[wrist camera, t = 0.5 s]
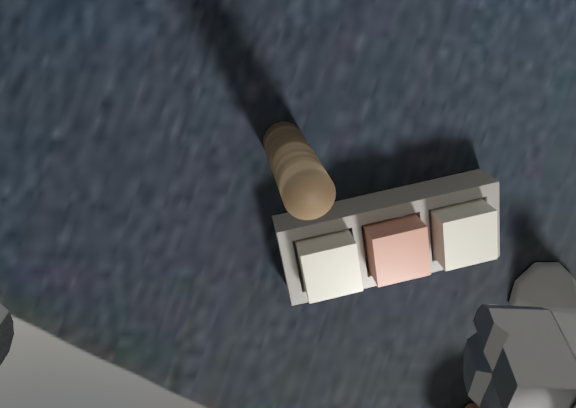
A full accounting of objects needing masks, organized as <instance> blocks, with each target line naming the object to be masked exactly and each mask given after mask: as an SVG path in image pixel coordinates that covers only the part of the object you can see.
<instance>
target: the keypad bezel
mask: <svg viewBox="0 0 576 408" xmlns="http://www.w3.org/2000/svg"><path fill="white" fill-rule="evenodd" d="M481 198H482V199H483V200H484V201H486V202H487V203H488V204H490V205H491V206H492V207H493V208H495V209H496V210H497V242H498V257H499V256H500V234H499V181H497V180H496V179H495V178H493V177H492V176H490V175H489V174H487V173H486V172H484V171H483V170H481V169H476V170H472V171H467V172H463V173H458V174H454V175H450V176H445V177H441V178H436V179H432V180H428V181H423V182H419V183H415V184H410V185H406V186H401V187H397V188H393V189H388V190H384V191H379V192H375V193H371V194H366V195H362V196H357V197H353V198H349V199H344V200H340V201H335V202H334V204H333V206H332V207H331V209H330V210H329V211H328V212H327V213H326V214H325V215H323V216H321V217H319V218H317V219H314V220H301V219H298V218H295V217H294V216H292V215H291V214H290V213H289V212H287V213H283V214H278V215H274V216H272V219H273V224H274V228H275V233H276V238H277V242H278V247H279V252H280V256H281V261H282V266H283V270H284V275H285V279H286V284H287V288H288V292H289V296H290V300H291V303H292V306H294V305H298V304H302V303H306V302H309V300H308V297H307V294H306V291H305V288H304V284H303V278H302V273H301V268H300V263H299V258H298V253H297V248H296V243H295V241H299V240H304V239H308V238H312V237H317V236H321V235H325V234H330V233H334V232H338V231H343V230H347V229H349V231H350V233H351V235H352V236H353V238H354V240H355V242H356V243H357V250H358V257H359V264H360V271H361V278H362V286H363V289H365V288H369V287H373V286H377V284H376V283H375V281H374V279H373V277H372V276H371V274H370V272H369V266H368V258H367V251H366V243H365V236H364V228H363V226H364V225H369V224H373V223H377V222H382V221H386V220H390V219H395V218H399V217H403V216H408V215H412V214H416V215H417V216H418V217H419V218H420V219H421V220H422V221H423V222H424V224H425V225H426V226H427V227H428V241H429V254H430V268H431V273H432V272H436V271H440V270H444V269H443V267H442V266H441V265H440V264H439V263H438V261H437V260H436V259H435V258H434V257H433V244H432V230H431V216H430V210H433V209H438V208H442V207H446V206H451V205H455V204H459V203H464V202H468V201H472V200H477V199H481Z"/></svg>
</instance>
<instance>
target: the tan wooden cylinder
mask: <svg viewBox="0 0 576 408" xmlns="http://www.w3.org/2000/svg"><path fill="white" fill-rule="evenodd" d="M263 145H264V149H265V152H266V155H267V157H268V160H269V163H270V166H271V169H272V172H273V175H274V178H275V180H276V183H277V186H278V189H279V192H280V195H281V198H282V201H283V203H284V206H285V208H286V210H287V211H288V212H289V213H290V214H291V215H292V216H294V217H295V218H298V219H301V220H314V219H317V218H319V217H321V216H323V215H325V214H326V213H327V212H328V211H329V210H330V209H331V207H332V206H333V204H334V201H335V197H336V189H335V186H334V183H333V181H332V180H331V178H330V177H329V175H328V174H327V172H326V170H325V169H324V167H323V166H322V164H321V162H320V161H319V159H318V158H317V156H316V155H315V153H314V151H313V150H312V148H311V147H310V145H309V144H308V142H307V140H306V139H305V137H304V136H303V134H302V133H301V131H300V129H299V128H298V127H297V126H296V125H294V124H293V123H290V122H286V121H281V122H277V123H275V124H273V125H271V126H270V127H269V128H268V129H267V130H266V132H265V134H264V137H263Z"/></svg>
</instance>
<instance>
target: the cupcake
mask: <svg viewBox="0 0 576 408" xmlns="http://www.w3.org/2000/svg"><path fill="white" fill-rule="evenodd" d="M465 408H479V406H478V405H477V404H476V403H470V404H468V405H466V406H465Z"/></svg>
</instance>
